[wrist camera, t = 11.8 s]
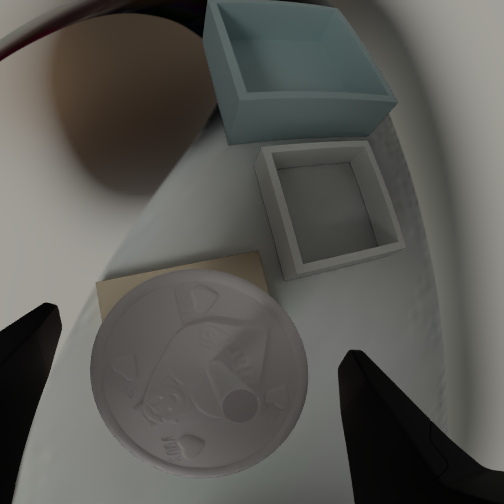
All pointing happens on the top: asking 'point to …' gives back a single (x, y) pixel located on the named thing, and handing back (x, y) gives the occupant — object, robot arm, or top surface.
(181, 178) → the top surface
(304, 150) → the grey tray
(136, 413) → the smoothie
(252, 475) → the top surface
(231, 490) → the top surface
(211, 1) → the bin
